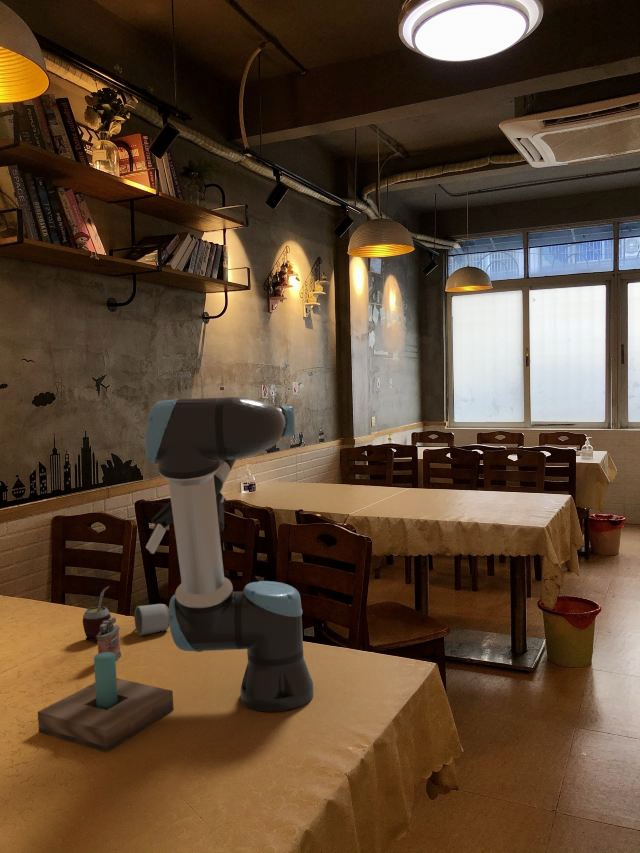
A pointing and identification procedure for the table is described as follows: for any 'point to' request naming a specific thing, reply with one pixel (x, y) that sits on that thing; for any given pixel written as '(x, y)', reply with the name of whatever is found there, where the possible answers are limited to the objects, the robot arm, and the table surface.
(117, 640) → the lighter
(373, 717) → the table surface
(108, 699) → the pin
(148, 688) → the hole board
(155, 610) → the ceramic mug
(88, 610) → the mate gourd
